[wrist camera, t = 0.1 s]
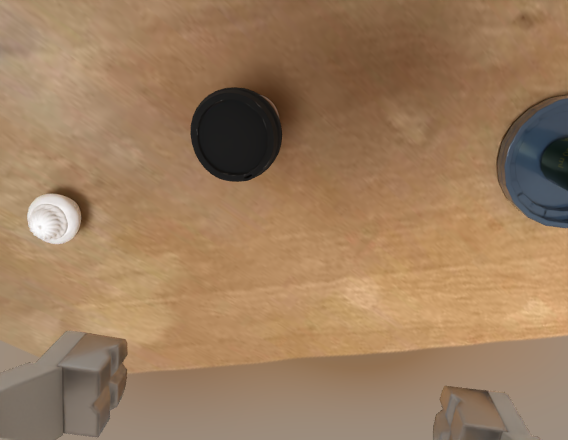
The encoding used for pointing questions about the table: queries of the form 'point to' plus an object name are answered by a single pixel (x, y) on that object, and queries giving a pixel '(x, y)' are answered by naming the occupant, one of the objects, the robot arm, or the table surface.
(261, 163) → the coffee cup
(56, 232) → the muffin
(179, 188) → the table surface
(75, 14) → the table surface
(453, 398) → the robot arm
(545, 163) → the beer can
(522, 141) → the bowl
